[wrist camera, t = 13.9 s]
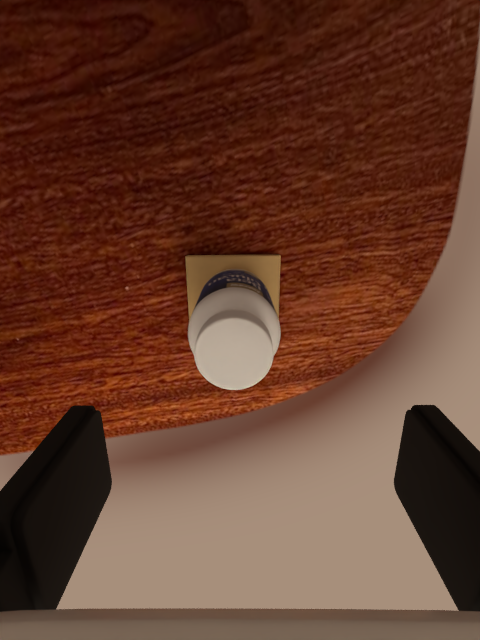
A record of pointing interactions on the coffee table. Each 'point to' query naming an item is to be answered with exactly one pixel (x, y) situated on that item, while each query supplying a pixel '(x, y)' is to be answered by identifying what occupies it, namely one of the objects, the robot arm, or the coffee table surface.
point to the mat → (209, 265)
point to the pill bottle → (234, 330)
